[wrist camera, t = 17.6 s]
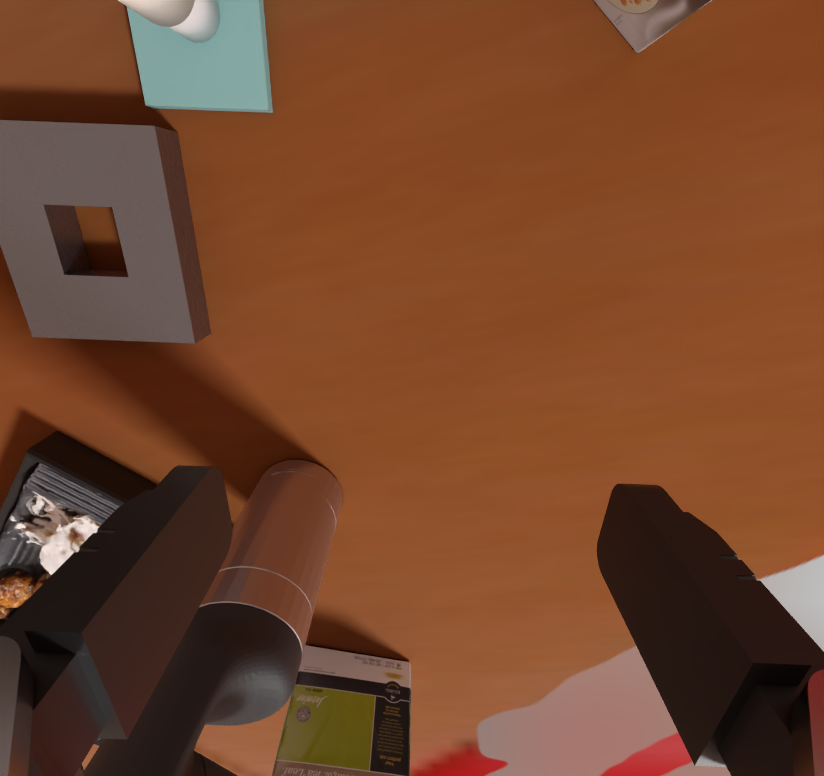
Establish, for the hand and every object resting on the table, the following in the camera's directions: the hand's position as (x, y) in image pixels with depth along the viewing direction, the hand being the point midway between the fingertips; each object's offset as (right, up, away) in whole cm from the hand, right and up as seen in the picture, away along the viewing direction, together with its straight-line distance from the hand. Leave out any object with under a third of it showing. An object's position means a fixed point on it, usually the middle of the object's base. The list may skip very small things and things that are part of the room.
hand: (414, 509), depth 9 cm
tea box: (-8, -37, +50) cm, 63 cm away
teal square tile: (-15, +28, +21) cm, 38 cm away
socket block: (-25, +15, +27) cm, 40 cm away
